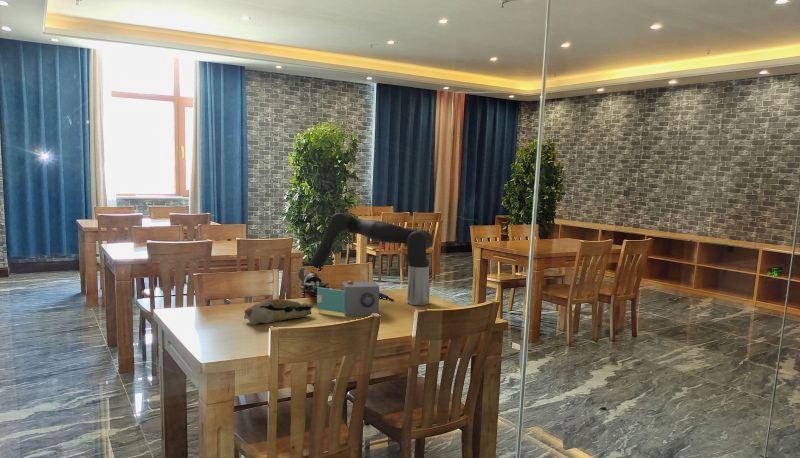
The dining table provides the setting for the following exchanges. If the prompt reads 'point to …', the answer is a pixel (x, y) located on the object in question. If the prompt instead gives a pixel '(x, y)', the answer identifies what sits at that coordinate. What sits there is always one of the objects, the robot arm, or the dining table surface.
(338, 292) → the door
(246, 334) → the dining table surface
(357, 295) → the camera box
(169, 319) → the dining table surface
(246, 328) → the dining table surface
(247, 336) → the dining table surface
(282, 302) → the mineral
